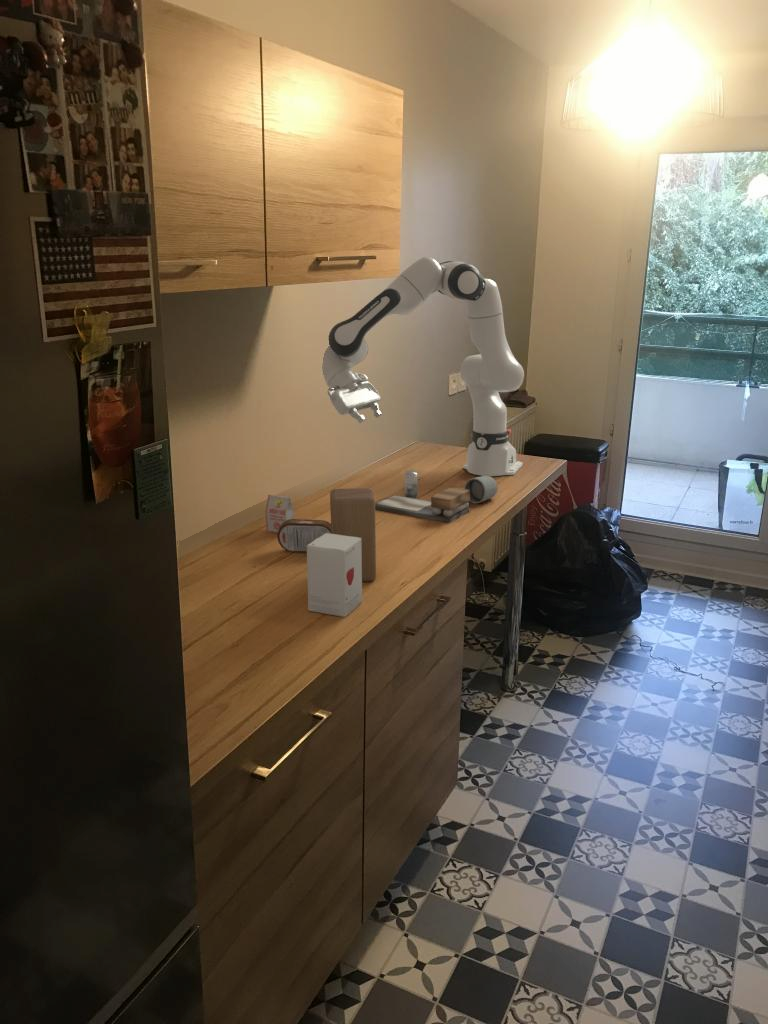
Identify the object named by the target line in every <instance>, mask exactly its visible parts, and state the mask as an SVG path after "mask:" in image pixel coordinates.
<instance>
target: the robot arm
mask: <svg viewBox="0 0 768 1024" xmlns="http://www.w3.org/2000/svg"><path fill="white" fill-rule="evenodd" d="M436 292H438V293H440V294H441V295H445V296H446V297H449V298H452V299H458V300H464V302H465V303H466V307H467V316H468V318H467V319H468V327H469V337H470V340H471V342H472V344H473V345H474V346H475V347H476V348H477V349H476V350H478V352H479V354H473V355H468V356H467V357H465V358H464V360H463V361H462V362H461V364H460V369H459V371H460V372H459V373H460V377H461V379H462V381H463V382H464V383H465V385H466V386H467V389H468V392H469V395H470V397H471V399H470V400H471V403H472V409H473V411H472V413H473V415H472V416H473V419H472V420H473V422H472V423H473V425H472V427H473V429H472V430H471V441H472V442H471V443H470V444H469V445H468V447H467V448H468V449H467V455H466V463H465V464H463V466H462V467H463V469H464V470H466V471H467V472H468V473H470V474H472V475H476V476H480V477H481V476H490V477H498V476H500V477H501V476H513V475H515V474H516V473H518V471H519V470H520V469H521V468H522V467H523V465H524V463H523V462H522V461H519V460H517V450H516V448H515V447H514V446H513V445H512V444H511V443H510V442H509V436H512V435H511V434H512V430H511V429H507V423H508V422H507V420H508V417H507V415H508V409H507V405H506V404H505V403H504V402H503V400H502V399H501V396H500V393H509V392H515V391H517V390H519V388H520V387H521V386H522V384H523V383H524V379H525V370H524V368H523V366H522V365H521V363H519V362H518V360H517V359H516V358H515V355H514V354H513V352H512V350H511V348H510V345H509V343H508V340H507V336H506V331H505V324H504V323H505V321H504V312H503V305H502V303H503V302H502V299H501V295H500V291H499V287H498V285H497V283H496V281H494V280H492V279H490V278H484V277H483V276H482V274H481V273H480V271H479V270H478V268H477V267H475V266H474V265H472V264H470V263H466V262H463V261H460V260H458V261H453V260H451V261H450V260H448V261H444V262H440V263H439V262H438V261H437V260H436V259H434V258H433V257H430V256H423V257H421V258H419V259H418V260H417V261H415V262H413V263H412V264H411V265H409V266H408V267H407V268H406V269H404V270H403V271H402V272H401V273H400V274H399V275H398V276H397V277H396V278H395V279H394V280H393V281H392V282H391V283H390V284H389V285H388V286H387V287H386V288H385V289H384V290H382V291H381V292H380V293H379V294H378V295H376V296H375V297H373V299H372V300H370V301H369V302H368V303H367V304H366V305H365V306H363V307H362V308H361V309H360V310H359V311H358V312H356V313H355V314H354V315H352V316H351V317H349V318H347V319H345V320H343V321H340V322H338V323H336V324H335V325H334V326H333V327H332V328H331V329H330V331H329V335H328V338H329V339H328V340H329V345H330V346H328V348H327V349H326V351H325V353H324V357H323V364H322V365H323V366H322V369H323V370H322V371H323V375H324V378H325V379H324V378H323V379H324V381H325V383H326V385H327V387H328V388H327V395H328V396H329V400H330V402H331V404H332V405H333V407H334V409H335V410H336V411H337V412H338V414H340V415H341V416H344V415H348V414H349V415H350V416H351V417H352V418H353V419H355V420H356V421H357V422H358V423H359V424H362V423H364V422H365V421H366V418H365V416H364V415H363V414H360V413H359V411H363V410H365V409H369V408H370V409H371V410H372V411H373V415H374V417H375V418H376V419H378V418H380V417H382V416H383V413H382V411H381V410H380V407H379V403H380V402H381V401H382V396H381V394H380V393H379V391H378V389H376V387H375V386H374V385H373V384H372V383H371V382H370V381H369V377H368V376H367V375H366V374H364V373H359V372H356V371H353V370H352V369H351V368H353V367H354V366H356V365H358V364H359V363H361V362H363V361H364V360H365V359H366V357H367V355H368V352H369V345H368V343H367V341H366V339H365V338H366V337H365V336H366V335H367V334H368V333H369V332H370V331H371V330H372V329H374V327H375V326H377V325H378V324H379V323H380V322H381V321H383V319H385V318H386V317H388V316H390V315H399V316H400V315H401V316H404V315H405V316H407V315H409V314H410V313H412V312H414V311H415V310H417V308H419V307H420V306H421V305H422V304H423V303H424V302H426V301H427V299H428V298H429V297H430V296H431V295H432V294H434V293H436ZM499 392H500V393H499Z"/></svg>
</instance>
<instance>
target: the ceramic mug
mask: <svg viewBox="0 0 768 1024" xmlns="http://www.w3.org/2000/svg"><path fill="white" fill-rule="evenodd" d="M463 489H468V490H470V500H468V502H470V503H472V504H480V503H482V502H485V501H488V500H490V499H492V498H493V497H495V496H496V495H497V493H498V483H497V482H496V480H495V478H493V476H481V475H480V476H477V477H472V478H470V479H468V480H467V481H466V482H465V484H464V487H463Z"/></svg>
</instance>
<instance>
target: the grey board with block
mask: <svg viewBox="0 0 768 1024" xmlns="http://www.w3.org/2000/svg"><path fill="white" fill-rule="evenodd" d="M469 500H470V490H468V489H464V488H461V487H454V486H450V487H449V488H447V489H444V490H442V491H441V492H439V493H437V494H435V495H433V496H431V500H427V499H420V498H416V499H415V498H410V497H405V495H404V496H403V495H396V494H392V495H389V496H388V497H385V498H384V499H381V500H379V501H375V510H378V511H383V512H388V513H394V514H395V513H396V514H399V515H404V514H405V516H410V515H411V516H410V517H415V516H416V518H421V517H422V518H423V519H426V518H428V520H432V519H434V520H433V521H437V520H440V521H439V522H443V521H446V522H445V523H448V522H450V523H452V522H454V521H456V520H457V519H459V518H461V517H463V516H464V515H466V514H468V513H469V512H470V507H469V506H470V503H469V502H470V501H469ZM462 515H463V516H462ZM460 516H461V517H460ZM458 517H459V518H458ZM455 519H456V520H455ZM453 520H454V521H453ZM451 521H452V522H451Z"/></svg>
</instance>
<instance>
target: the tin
mask: <svg viewBox="0 0 768 1024" xmlns="http://www.w3.org/2000/svg"><path fill="white" fill-rule="evenodd" d="M325 533H330V534H331V522H329V521H327V520H324V519H307V518H305V519H303V518H299V519H298V518H294V519H289V520H287V521H285V522H283V523H282V524H281V526H280V528H279V531H278V533H276V534H277V535H276V536H277V537H276V538H277V542H278V544H279V545H280V546H281V547H280V548H282V549H283V550H284V551H287V552H290V553H306V554H307V545H308V544H310V543H312V542H313V541H314V540H315V539H317V538H319V537H321V536H322V535H324V534H325Z"/></svg>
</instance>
